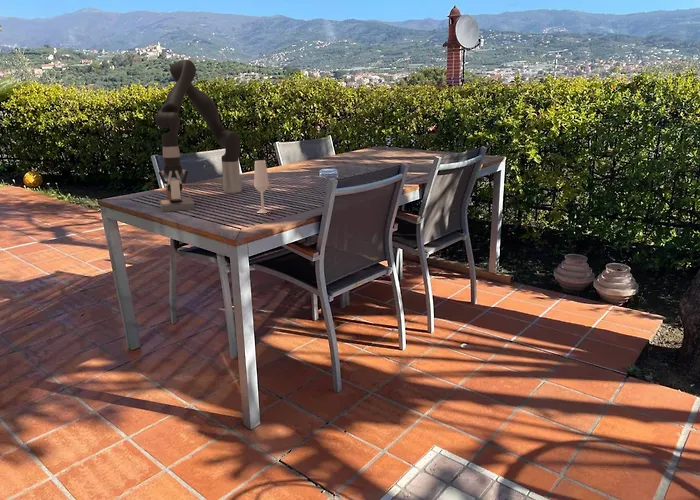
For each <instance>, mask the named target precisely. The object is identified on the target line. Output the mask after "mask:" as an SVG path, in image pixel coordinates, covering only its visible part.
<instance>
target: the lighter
mask: <svg viewBox="0 0 700 500" xmlns="http://www.w3.org/2000/svg"><path fill="white" fill-rule="evenodd" d="M165 189H166V197H167V198H166V199H172V198H171V192H170V191H168V186H167V185H165ZM180 196H181V194H180Z"/></svg>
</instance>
